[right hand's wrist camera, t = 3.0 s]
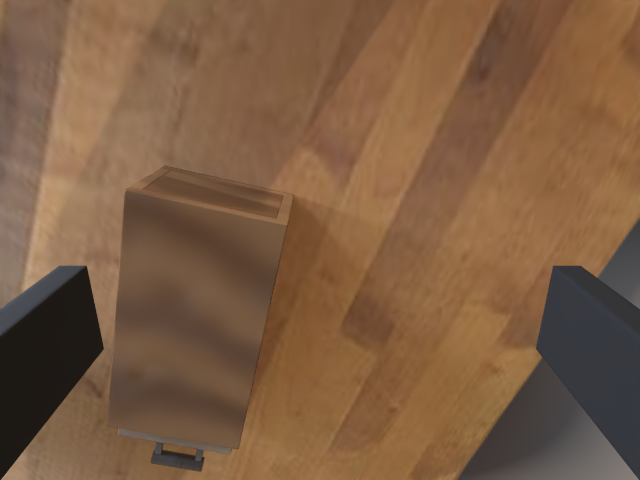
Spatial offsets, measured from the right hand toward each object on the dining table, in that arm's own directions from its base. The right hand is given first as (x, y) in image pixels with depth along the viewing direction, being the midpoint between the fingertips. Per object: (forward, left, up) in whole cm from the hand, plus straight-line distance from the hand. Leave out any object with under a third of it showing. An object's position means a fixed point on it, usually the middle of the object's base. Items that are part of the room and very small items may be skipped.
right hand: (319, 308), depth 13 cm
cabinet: (0, -16, -26) cm, 31 cm away
